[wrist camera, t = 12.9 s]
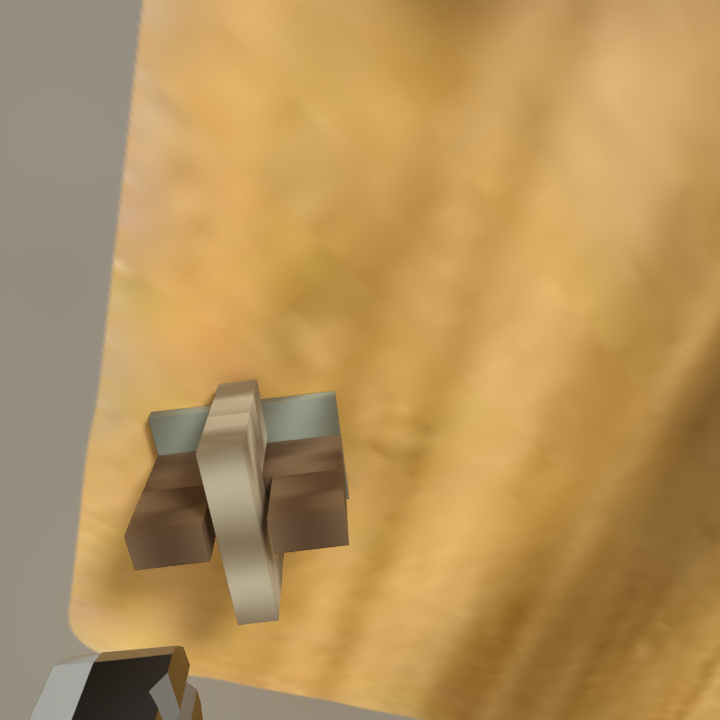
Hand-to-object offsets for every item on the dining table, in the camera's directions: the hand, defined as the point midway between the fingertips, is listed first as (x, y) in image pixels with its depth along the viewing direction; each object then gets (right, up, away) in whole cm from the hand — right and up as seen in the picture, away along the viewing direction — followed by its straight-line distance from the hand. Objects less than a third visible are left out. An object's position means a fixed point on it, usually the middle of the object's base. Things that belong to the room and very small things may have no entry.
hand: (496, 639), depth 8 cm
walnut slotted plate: (-9, -3, +35) cm, 36 cm away
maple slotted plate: (-9, -3, +34) cm, 35 cm away
